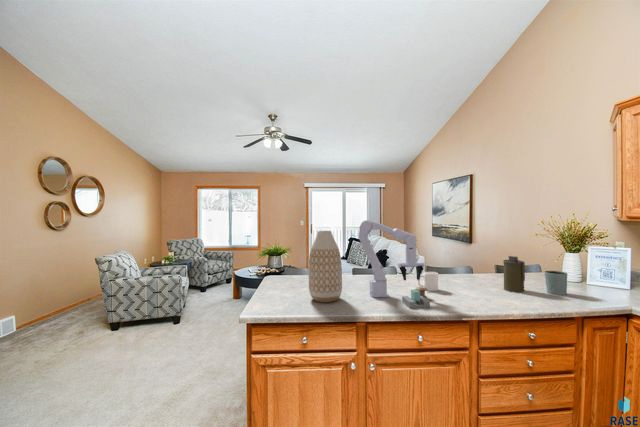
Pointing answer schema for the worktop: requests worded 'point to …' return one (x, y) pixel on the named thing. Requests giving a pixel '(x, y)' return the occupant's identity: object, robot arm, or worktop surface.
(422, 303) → the board
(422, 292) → the bobbin
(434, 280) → the cup
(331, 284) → the vase
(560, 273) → the grey pot
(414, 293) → the tab
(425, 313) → the worktop surface
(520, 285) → the canister
